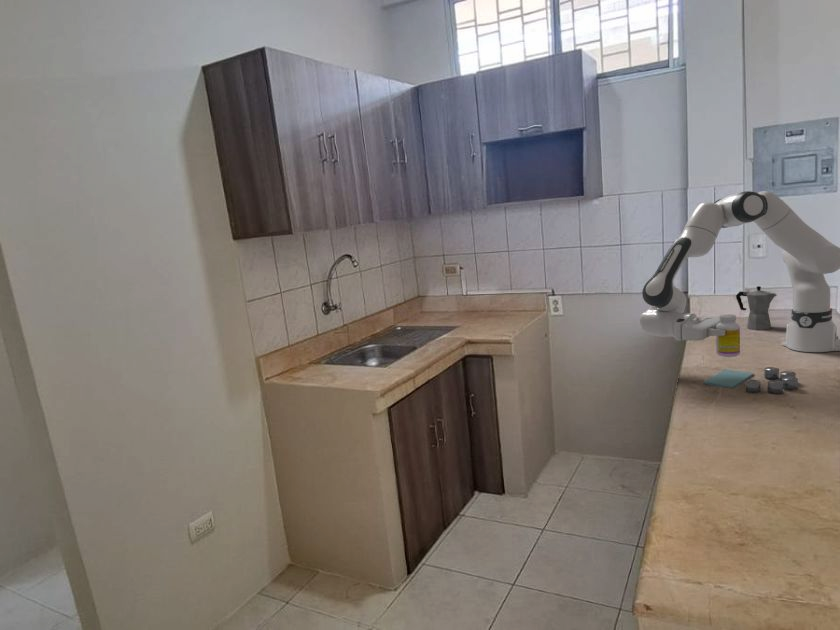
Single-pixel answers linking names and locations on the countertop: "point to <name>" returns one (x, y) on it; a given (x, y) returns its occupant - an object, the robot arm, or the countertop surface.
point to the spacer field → (774, 382)
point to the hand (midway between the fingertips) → (730, 329)
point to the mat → (728, 378)
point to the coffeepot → (757, 308)
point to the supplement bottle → (728, 336)
